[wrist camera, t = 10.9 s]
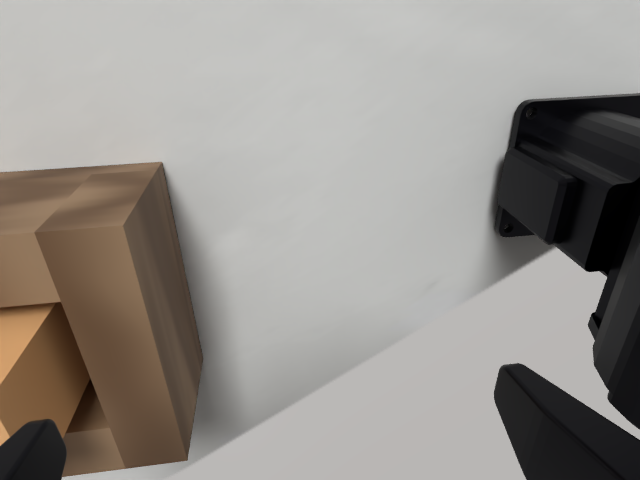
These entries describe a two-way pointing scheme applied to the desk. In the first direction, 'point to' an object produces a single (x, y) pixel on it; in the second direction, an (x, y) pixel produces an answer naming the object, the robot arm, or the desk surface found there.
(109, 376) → the socket
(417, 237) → the desk surface
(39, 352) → the peg
